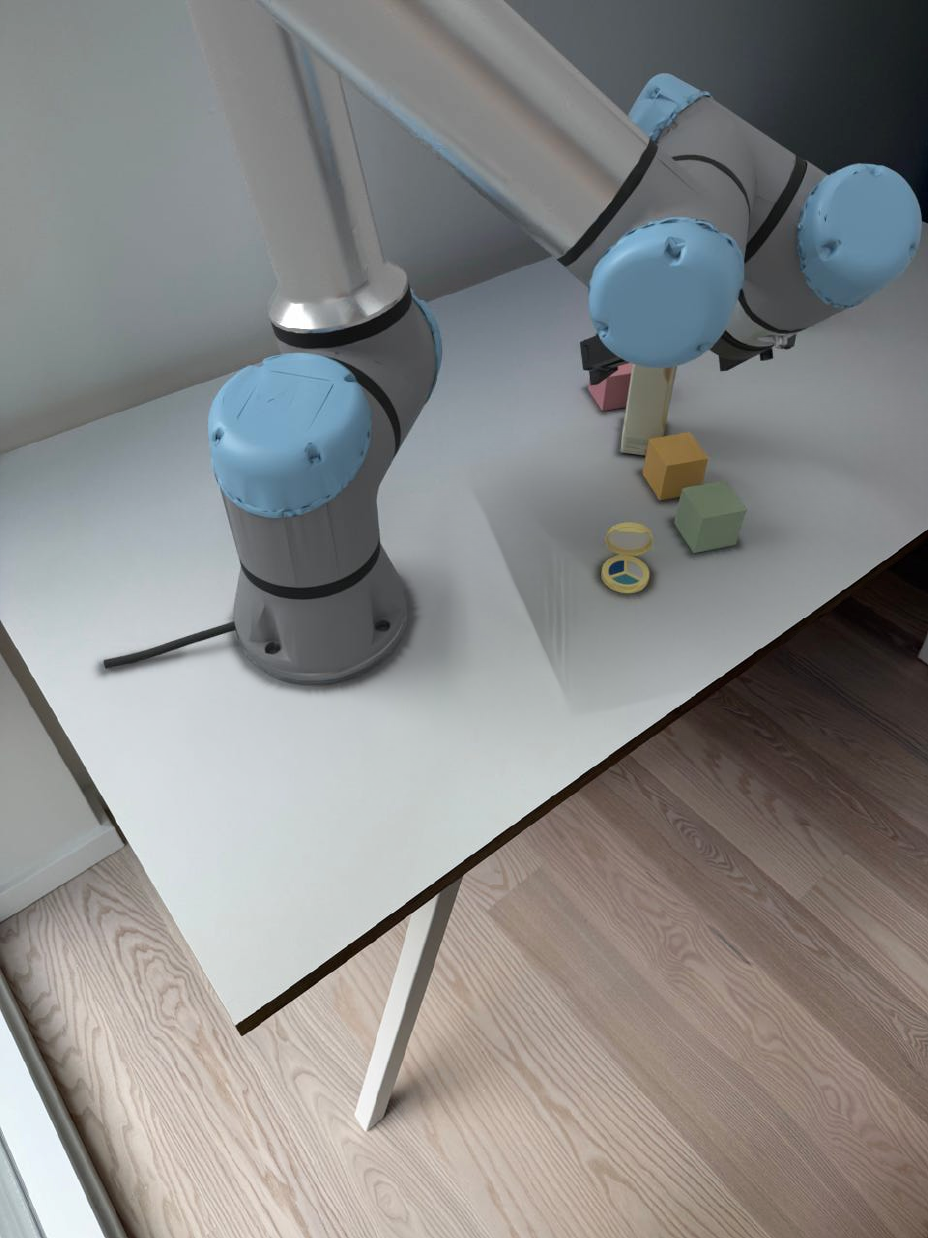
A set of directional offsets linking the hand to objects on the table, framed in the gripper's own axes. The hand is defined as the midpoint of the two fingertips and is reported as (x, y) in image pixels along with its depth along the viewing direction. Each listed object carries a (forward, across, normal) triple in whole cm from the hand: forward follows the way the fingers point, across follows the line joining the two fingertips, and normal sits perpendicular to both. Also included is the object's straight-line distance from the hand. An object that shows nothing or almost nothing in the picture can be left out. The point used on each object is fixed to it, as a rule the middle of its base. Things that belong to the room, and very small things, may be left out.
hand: (657, 364), depth 89 cm
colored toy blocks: (+6, +1, -9) cm, 10 cm away
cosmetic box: (+8, 0, -6) cm, 11 cm away
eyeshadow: (-6, -8, -20) cm, 22 cm away
